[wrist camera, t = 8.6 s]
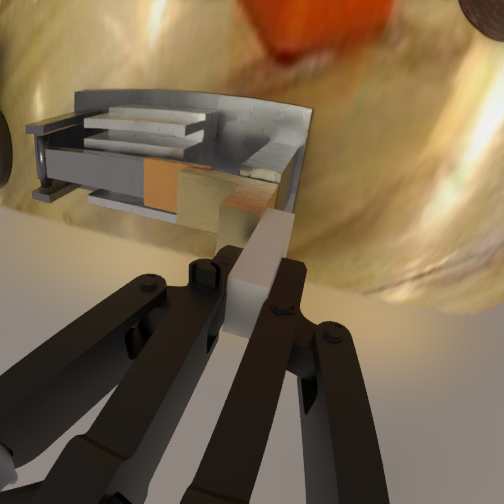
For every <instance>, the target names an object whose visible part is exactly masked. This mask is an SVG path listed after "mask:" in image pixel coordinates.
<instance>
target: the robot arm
mask: <svg viewBox="0 0 504 504" xmlns="http://www.w3.org/2000/svg"><path fill="white" fill-rule="evenodd" d="M11 164H12V150H11V141H10V135H9V131H8V127H7V124H6V121H5V119H4V117H3V115H2V113H1V112H0V187H2V186H3V185H4V184H5V183H6V182H7V180H8V178H9V175H10V171H11ZM294 218H295V214H293V213H289V212H285V211H280V210H276V209H272V208H267V210H266V211H265V213H264V215H263V216H262V218H261V220H260V222H259V223H258V225H257V227H256V228H255V230H254V232H253V234H252V235H251V237H250V239H249V241H248V242H247V244H246V246H245V248H240V247H236V246H232V245H226V246H224V247H223V248H221V249H220V250H219V251H218V253H217V254H216V256H215V257H214V258H213V260H212V259H198V260H195V261H193V262H191V263H190V264H189V283H188V285H187V286H181V287H177V286H167V285H166V281H165V279H164V278H162V277H161V276H159V275H156V274H144V275H141V276H139V277H136V278H135V279H133V280H132V281H131V282H129V283H127V284H126V285H125V286H123V287H122V288H120V289H119V290H117V291H116V292H114V293H113V294H112V295H110V296H109V297H107V298H106V299H104V300H103V301H101V302H100V303H98V304H97V305H96V306H94V307H93V308H91V309H90V310H89V311H87V312H86V313H84V314H83V315H82V316H80V317H79V318H77V319H76V320H74V321H73V322H72V323H70V324H69V325H67V326H66V327H65V328H63V329H62V330H60V331H59V332H58V333H56V334H55V335H54V336H52V337H51V338H50V339H48V340H47V341H45V342H44V343H43V344H41V345H40V346H39V347H37V348H36V349H35V350H33V351H32V352H31V353H29V354H28V355H27V356H25V357H24V358H23V359H21V360H20V361H19V362H17V363H16V364H15V365H13V366H12V367H11V368H10V369H8V370H7V371H6V372H4V373H3V374H2V375H1V376H0V504H144V502H145V500H146V497H147V492H148V486H149V483H150V481H151V479H152V477H153V474H154V472H155V470H156V468H157V466H158V464H159V462H160V460H161V458H162V456H163V454H164V452H165V450H166V448H167V446H168V444H169V441H170V439H171V437H172V435H173V433H174V431H175V429H176V427H177V425H178V423H179V421H180V418H181V417H182V415H183V413H184V410H185V408H186V406H187V404H188V402H189V400H190V398H191V396H192V394H193V392H194V389H195V387H196V385H197V383H198V381H199V379H200V377H201V375H202V373H203V371H204V369H205V367H206V365H207V362H208V360H209V358H210V356H211V354H212V352H213V350H214V348H215V346H216V344H217V341H218V337H219V330H220V328H221V326H222V324H223V329H222V331H224V332H227V333H230V334H234V335H237V336H241V337H244V338H248V339H249V342H248V345H247V348H246V350H245V353H244V355H243V358H242V360H241V363H240V366H239V368H238V371H237V373H236V376H235V378H234V381H233V384H232V386H231V389H230V391H229V394H228V396H227V399H226V401H225V404H224V406H223V409H222V411H221V414H220V416H219V419H218V421H217V424H216V426H215V429H214V431H213V434H212V436H211V439H210V441H209V443H208V446H207V448H206V451H205V453H204V456H203V458H202V460H201V463H200V465H199V468H198V470H197V472H196V475H195V477H194V479H193V482H192V483H191V485H190V486H189V487H188V488H187V490H186V492H185V493H184V495H183V497H182V500H181V502H180V504H249V501H250V497H251V494H252V491H253V488H254V484H255V481H256V478H257V475H258V471H259V468H260V465H261V461H262V458H263V454H264V451H265V447H266V444H267V441H268V436H269V433H270V430H271V426H272V423H273V419H274V415H275V411H276V408H277V404H278V400H279V395H280V392H281V388H282V384H283V380H284V376H285V372H286V370H287V371H289V372H291V373H293V374H295V375H297V384H298V395H299V407H300V418H301V430H302V444H303V457H304V471H305V485H306V486H305V487H306V504H390V503H389V498H388V492H387V486H386V480H385V475H384V469H383V464H382V459H381V454H380V449H379V445H378V439H377V435H376V431H375V426H374V421H373V417H372V413H371V408H370V404H369V400H368V396H367V392H366V388H365V384H364V380H363V377H362V372H361V368H360V365H359V361H358V357H357V354H356V350H355V346H354V343H353V339H352V336H351V334H350V332H349V330H348V329H347V328H346V327H345V326H343V325H341V324H339V323H337V322H332V321H327V322H322V323H320V324H319V325H316V324H314V323H312V322H311V321H309V320H307V319H306V318H305V317H304V316H303V314H302V313H301V310H300V302H301V297H302V292H303V288H304V283H305V277H306V273H307V269H306V267H305V264H304V262H299V261H295V260H291V259H287V258H286V255H287V250H288V245H289V241H290V236H291V232H292V227H293V222H294ZM117 385H118V386H117ZM115 386H117V388H116V389H115V391H114V392H113V394H112V395H111V397H110V398H109V400H108V401H107V403H106V404H105V406H104V407H103V409H102V410H101V412H100V413H99V415H98V417H97V418H96V420H95V421H94V423H93V424H92V426H91V427H90V429H89V430H88V431H87V432H86V433H85V434H82V435H76V436H75V437H74V438H72V439H71V440H70V441H69V442H68V443H67V445H66V446H65V448H64V449H63V451H62V452H61V454H60V456H59V457H58V459H57V460H56V462H55V464H54V465H53V467H52V468H51V470H50V471H49V473H48V475H47V476H46V478H45V480H43V481H40V482H36V483H33V484H30V485H26V486H22V487H19V488H14V489H11V490H6V491H2V492H1V490H2V489H3V488H4V487H5V486H6V485H8V484H14V483H15V482H16V481H17V478H18V476H17V473H16V471H15V469H16V468H18V467H21V466H23V465H25V464H27V463H28V462H30V461H32V460H33V459H35V458H36V457H37V456H39V455H40V454H41V453H42V452H43V451H45V450H46V449H47V448H48V447H49V446H50V445H51V444H53V443H54V442H55V441H56V440H57V439H58V438H59V437H60V436H61V435H63V434H64V432H66V431H67V430H68V429H69V428H70V427H71V426H72V425H74V424H75V423H76V422H77V421H78V420H79V419H80V418H81V417H82V416H84V415H85V414H86V413H87V412H88V411H89V410H90V409H91V408H92V407H93V406H95V405H96V404H97V403H98V402H99V401H100V400H101V399H102V398H103V397H104V396H105V395H107V394H108V393H109V392H110V391H111V390H112V389H113V388H114V387H115Z"/></svg>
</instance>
